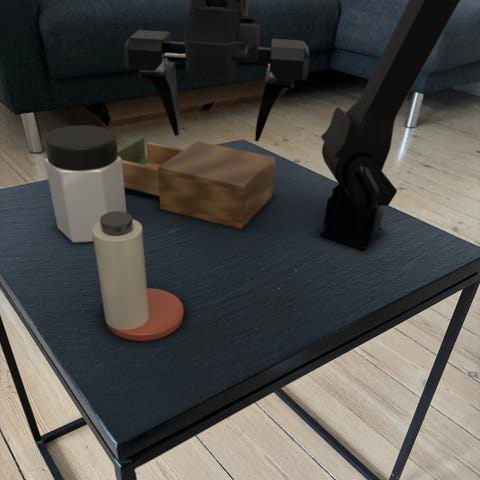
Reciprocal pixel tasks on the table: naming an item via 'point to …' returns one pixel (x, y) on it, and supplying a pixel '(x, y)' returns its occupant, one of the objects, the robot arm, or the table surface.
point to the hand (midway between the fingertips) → (216, 137)
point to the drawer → (144, 164)
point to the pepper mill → (121, 270)
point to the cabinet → (216, 183)
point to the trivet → (156, 317)
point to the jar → (83, 178)
